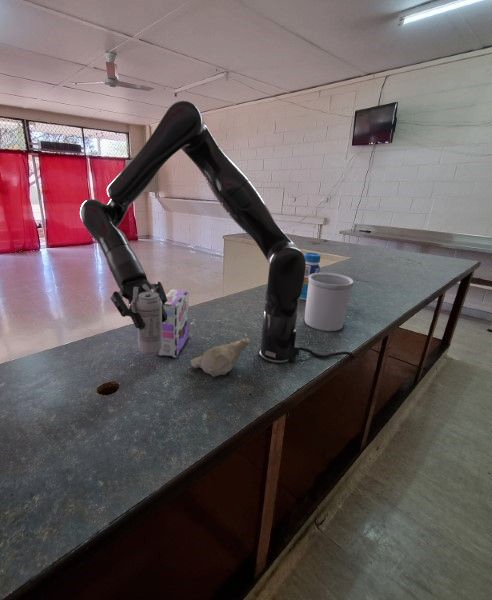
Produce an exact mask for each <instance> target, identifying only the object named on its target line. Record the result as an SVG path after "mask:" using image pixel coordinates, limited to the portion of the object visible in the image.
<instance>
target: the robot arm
mask: <svg viewBox="0 0 492 600" xmlns="http://www.w3.org/2000/svg"><path fill="white" fill-rule="evenodd" d="M180 150H181V151H182V152H184V153H185V155H186V156H187V157H188V158H189V159H190V160H191V162H192V163H194V165H195V166H196V167H197V169H198V170H199V171H200V173H201V174H202V176H203V178H204V179H205V181H206V183H207V185H208V187H209V190H211V192H212V193H213V195H214V197H215V198H216V200H217V202H218V203H219V204H220V206H221V207H222V208H223V209H224V211H225V212H226V213H227V214H228V216H229V217H230V218H231V219H232V220H233V221H234V223H235V224H237V226H239V228H241V229H242V230H243V232H245V233H246V234H247V235H248V236H249V237H250V238H251V239H252V240H253V241H254V243H255V244H256V245H257V246H258V247H259V249H260V252H262V254H263V255H264V258H265V259H266V261H267V263H268V276H267V286H266V290H265V299H264V306H263V307H264V308H263V317H262V318H263V320H262V330H261V338H260V348H259V356H260V357H261V358H262V359H263V360H265V361H267V362H268V363H273V364H285V363H292V362H293V360H294V356H298V357H299V355H300V351H303V352H306V353H309V354H310V355H311V356H313V357H316V358H320V359H327V358H331V357H338V356H342V355H347V356H350V357H351V358H353V359H355V358H357V357H356V355H355V354H354V353H352V352H350V351H344V350H343V351H337V352H331V353H328V354H320V353H316V352H315V351H313V350H311V349H309V348H307V347H301V346H300V344H299V340H296V337H297V329H296V326H297V320H298V319H297V318H298V312H299V304H300V300H301V299H300V296H301V294H302V289H303V283H304V277H305V270H306V259H305V256H304V255H305V253H303V251H302V250H301V249H300V248H299V246H298V245H297V244H295V243H294V242H293V241H292V240H291V239H290V238H289V237H288V236H287V235H286V233H285V232H284V231H283V230H282V229H281V227H280V226H279V225H278V224H277V222H276V221H275V219H274V218H273V216H272V214H271V211H270V210H269V208H268V206H267V204H266V203H265V201H264V199H263V198H262V196H261V195H260V193H259V191H258V190H257V189H256V188H255V186H254V185H253V183H252V182H251V180H249V178H248V177H247V175H245V173H244V172H243V171H242V170H241V168H240V167H238V165H237V164H236V163H235V162H234V161H233V160H232V159H231V158H230V157H228V155H226V153H225V152H224V151H223V150H222V149H221V147H220V146H219V145H218V143H217V141H216V140H215V138H214V136H213V135H212V133H211V131H210V130H209V127H208V126H207V125H206V122H205V120H204V118H203V115H202V113H201V111H200V110H199V108H198V107H197V105H195V104H194V103H192V102H190V101H188V100H179V101H176V102H174V103H173V104H171V105H170V106H169V108H168V109H167V110H166V112H165V113H164V115H163V116H162V118H161V120H160V121H159V122H158V124H157V126H156V128H155V130H154V131H153V133H152V134H151V135H150V137H149V138H148V139H147V141H146V142H145V144H144V145H143V146H142V148H140V150H139V151H138V153H137V154H136V155H135V156H134V157H133V158H132V159H131V161H130V162H129V163H128V164H127V165H126V166H125V167H124V168H123V169H122V170H121V171H120V173H119V174H118V175H117V176H116V177H115V178H114V179H113V180H112V182H111V183H110V184H109V185H108V186H107V188H106V193H107V195H108V197H109V199H110V200H109V202H108V203H105V202H102V201H100V200H98V199H95V198H94V199H91V198H89V199H87V200H85V201H84V202H83V203H82V204H81V207H80V211H79V215H80V219H81V222H82V224H83V226H84V227H85V229H86V231H88V233H89V234H90V235H91V236H92V238H93V239H94V240H95V242H96V243H98V245H99V247H100V249H101V251H102V254H103V255H104V258H105V260H106V263H107V265H108V266H107V267H108V269H109V271H110V273H111V275H112V276H113V279H114V281H115V283H116V285H117V287H118V289H119V291H116V290H114V292H113V293H112V294H111V296H110V300H111V302H112V304H113V305H114V306H115V308H116V310H117V311H118V313H119V314H120V315H121V317H122V318H123V317H124V318H125V317H129V318H131V320H132V322H133V325H134V327H135V328H136V329H137V330H138V329H139V330H141V329H143V328H144V327H145V325H144V323H143V321H142V319H141V316H140V315H139V313H137V305H136V302H137V299H138V297H139V294H140V293H142V292H149V291H150V292H157V293H158V294H159V297H160V299H161V301H162V323H163V322H165V321H166V320H167V317H168V316H167V313H166V311H165V309H164V307H163V305H164V304H165V303H166V302H167V297H166V295H167V293H166V292H165V290H164V287H163V284H162V282H161V281H157V282H156V283H151V282H150V281H149V280H148V278H147V274H146V271H145V270H144V267H143V266H142V264H141V262H140V260H139V258H138V256H137V254H136V253H135V251H134V249H133V248H132V246H131V245H130V242H129V241H128V238H127V237H126V235H125V233H124V232H123V231H122V230H121V229H119V228H118V227H119V226H120V225H121V224H122V222H123V220H124V219H125V216H126V214H127V212H128V211H129V209H130V207H131V205H132V204H133V203H134V202H135V201H136V200H137V199H138V198H139V197H140V196H141V195H142V194H143V193H144V192H145V190H147V188H148V187H149V185H150V184H151V183H152V181H153V180H154V179H155V177H156V176H157V174H158V172H159V171H160V170H161V168H162V167H163V166H164V165H165V164H166V163H167V161H168V160H169V159H170V158H172V156H173V155H175V154H176V153H177V152H179V151H180ZM123 298H124V299H126V300H127V302H128V305H127V303H126V302H125V300H124V299H123Z"/></svg>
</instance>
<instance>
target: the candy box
mask: <svg viewBox="0 0 492 600" xmlns="http://www.w3.org/2000/svg"><path fill="white" fill-rule="evenodd" d="M166 297H167V302H166V303H165V304H164V305H163V307H164V309H165V311H166V313H167V316H168V317H167V320H166V321H165V322H163V323H162V343H163V346H162V348H161V349H160V351H159V352H158V353H157V355H158V356H161V357H167V358H173V359H174V358H175V359H176V358H177V357H178V356H179V354H180V353H181V351H182V349H183V348H184V346H185V344H186V342H187V340H188V338H189V290H183V289H173V288H172V289H170V291H169V292H167V293H166Z"/></svg>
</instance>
